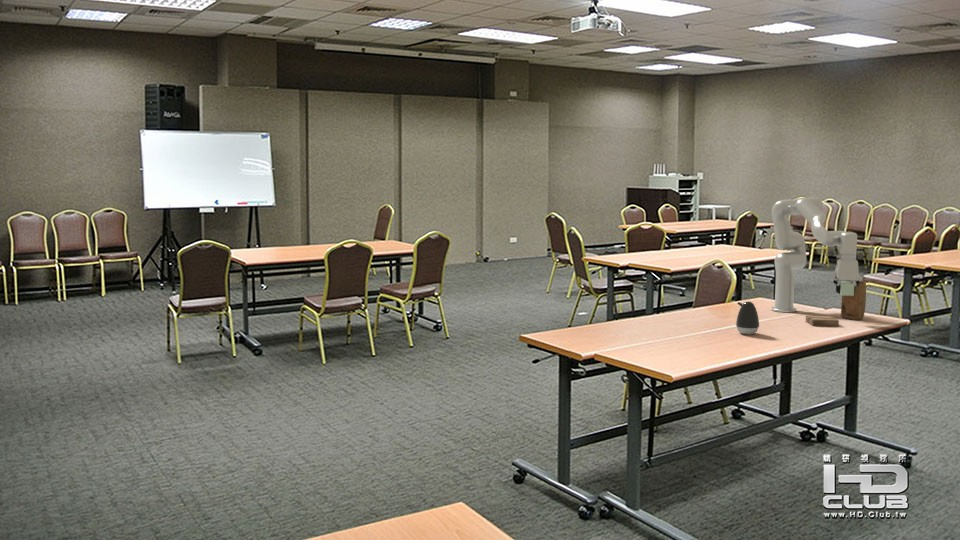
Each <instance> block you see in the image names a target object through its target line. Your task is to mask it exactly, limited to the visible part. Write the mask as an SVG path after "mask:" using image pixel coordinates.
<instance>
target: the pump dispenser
mask: <svg viewBox="0 0 960 540" xmlns="http://www.w3.org/2000/svg"><path fill="white" fill-rule="evenodd" d="M737 305H739V306H740V308H739V310H738V313H737V317H736V322H735V326H736V328H737V331H738V332H739V333H740V334H742V335H747V336H748V335H749V336H750V335H754V334H756V333H757V332H758V330H759V328H760V321H759V319H760V318H759V314H758V311H757V308H756V306H755V304H754V303H753V302H751V301H745V302H743V303H742V302H740V301H737Z"/></svg>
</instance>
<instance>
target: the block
mask: <svg viewBox="0 0 960 540" xmlns="http://www.w3.org/2000/svg"><path fill="white" fill-rule="evenodd" d="M845 282H851V281H845ZM866 301H867V282H866V281H865V280H861V281H860V282H859V283H858V284H857V285H856V286H855V292H854V296H842V295H841V307H840V317H841V318H843V319H848V320H854V321H861V320H863V319H864V317H865V316H864V315H865V312H866Z"/></svg>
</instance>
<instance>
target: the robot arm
mask: <svg viewBox="0 0 960 540" xmlns="http://www.w3.org/2000/svg"><path fill="white" fill-rule="evenodd" d="M823 210H824V202H823V201H822V200H821V198H819V197H802V198H799V199H789V198H788V199H781V200H778V201H777V202H775V203H774V204H773V206H772V208H771V219H772V223H773V230H774V232H773V233H774V239H775V242H774V243H775V246H776V248H777V249H778V250H781V251H789V252H781V253H778V254H777V255H776V256H775V257H774V261H773V262H774V269H775V287H774V288H775V291H774V306H771V311H773V312H779V313H796V312H797V308H796V307H794V304H795V303H794V302H795V301H794V300H795V298H794V297H795V280H796V279H795V274H794V272H793V271H794V270H795V271H796V270H802V269H803V268H805V266H806V265H807V253H806V252H807V250H806V242H805V238H804V236H803V235H802V234H801V233H800V232H797V231H792V225H791V222H790V220H789V218H788V217H787V216H802V217H803V218H804V219H805V221H806V222H807V223H809V224H810V229H811V233H812V236H813V237H814V238H815V239H816V241H817V242H818V243H819V244H821V245H823V247H824V246H825V247H838V246H839V253H838V254H836V256H835V257H836V258H837V261H836V263H835V264H836V265H835V269H834V270H835V271H834V273H833V274H832V275H831V276H829V280H831V281H832V283H833V284H835V293H836V294H837V293H838V295H839V294H840V283H841V282H846V281H851V282H852V283H854V292H855V286H856V285H857V284H858V283H859V282H860V281H864V280H863V279H864V278H863V277H862V276H861V275H860V273H859V262H858V260H857V248H858V247H857V245H858V234H857V233H856V232H850V231H845V230H827V229H826V228H825V227H824V226H823V224H824V222H825V221H826V219H827V215H826V213H824V211H823Z"/></svg>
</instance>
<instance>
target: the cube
mask: <svg viewBox="0 0 960 540" xmlns="http://www.w3.org/2000/svg"><path fill="white" fill-rule="evenodd" d="M837 294H838V293H837V292H836V295H837ZM838 296H841V297H842V296H854V283H852V282H846V281H841V283H840V294H838Z"/></svg>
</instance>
